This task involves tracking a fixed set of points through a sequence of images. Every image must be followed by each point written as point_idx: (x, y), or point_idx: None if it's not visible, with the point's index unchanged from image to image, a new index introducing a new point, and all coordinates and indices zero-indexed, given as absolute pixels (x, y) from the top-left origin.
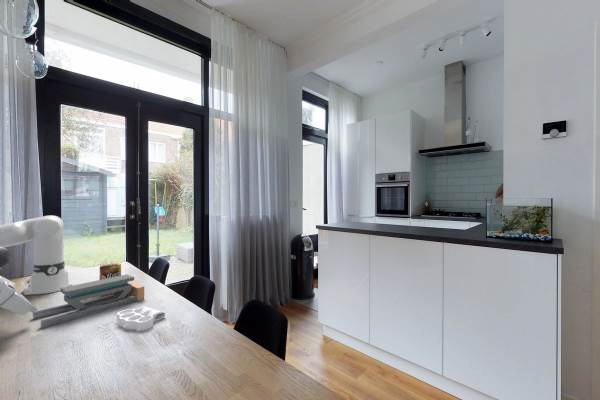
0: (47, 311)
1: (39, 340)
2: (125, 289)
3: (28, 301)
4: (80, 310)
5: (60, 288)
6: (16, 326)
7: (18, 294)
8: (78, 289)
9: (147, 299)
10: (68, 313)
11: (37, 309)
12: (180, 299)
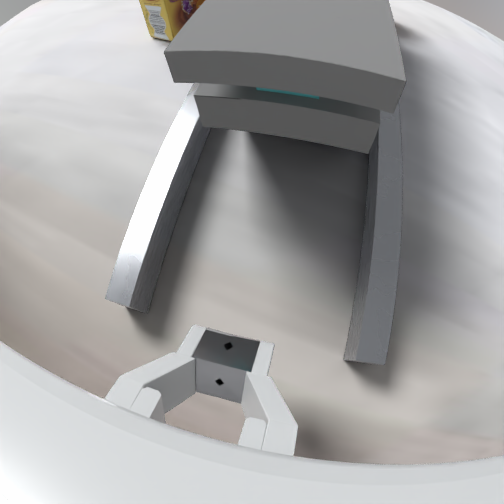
0: (156, 235)
1: (500, 413)
2: None
3: (393, 495)
4: (389, 151)
5: (168, 55)
6: (169, 413)
7: (26, 477)
8: (394, 28)
9: None
10: (383, 205)
11: (273, 347)
12: (465, 20)
